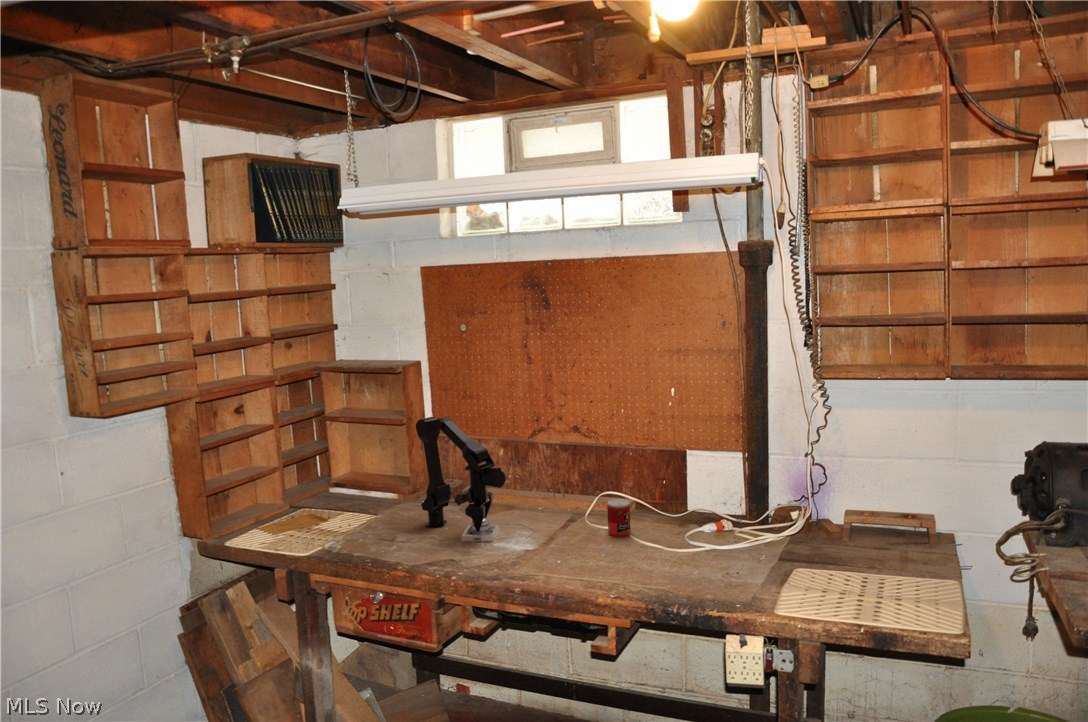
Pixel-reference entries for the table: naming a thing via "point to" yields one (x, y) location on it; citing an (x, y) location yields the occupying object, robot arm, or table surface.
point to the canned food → (618, 517)
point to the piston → (482, 528)
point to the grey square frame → (480, 537)
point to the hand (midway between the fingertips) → (480, 527)
